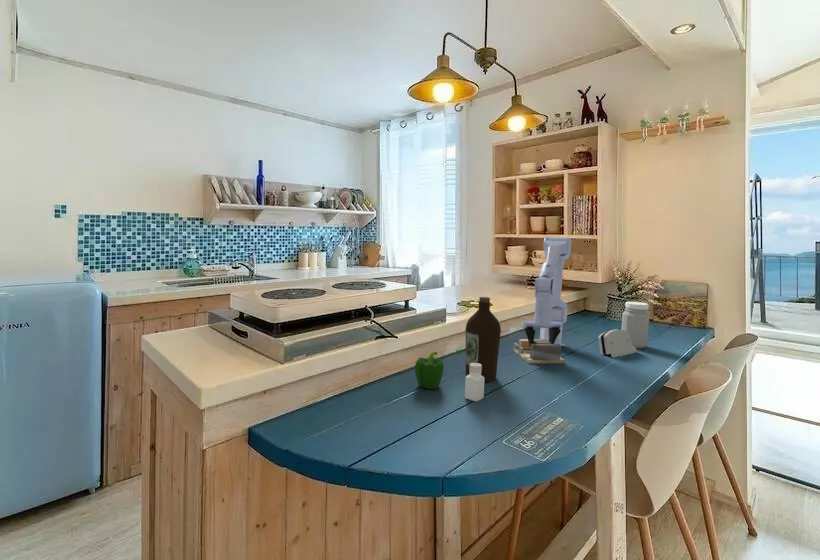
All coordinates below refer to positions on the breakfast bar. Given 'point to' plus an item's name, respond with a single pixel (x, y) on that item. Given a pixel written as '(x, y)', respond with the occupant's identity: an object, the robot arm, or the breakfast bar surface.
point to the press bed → (526, 355)
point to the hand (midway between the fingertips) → (540, 347)
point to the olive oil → (483, 340)
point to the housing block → (541, 341)
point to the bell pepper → (429, 371)
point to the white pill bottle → (474, 383)
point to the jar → (636, 323)
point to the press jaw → (524, 343)
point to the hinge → (616, 343)
